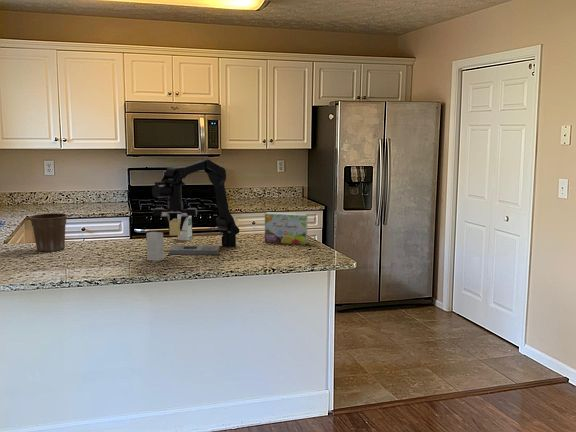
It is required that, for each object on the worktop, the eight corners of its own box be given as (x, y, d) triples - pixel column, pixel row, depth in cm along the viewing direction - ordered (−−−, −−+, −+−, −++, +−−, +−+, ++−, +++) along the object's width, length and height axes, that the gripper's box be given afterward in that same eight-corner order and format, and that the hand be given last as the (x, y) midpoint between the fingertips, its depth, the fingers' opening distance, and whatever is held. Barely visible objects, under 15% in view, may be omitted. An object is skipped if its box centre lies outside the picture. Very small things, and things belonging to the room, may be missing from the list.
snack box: (264, 242, 288) (264, 213, 286) (267, 240, 293) (267, 211, 291) (305, 244, 283) (305, 214, 281) (307, 242, 289) (307, 213, 286)
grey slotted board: (219, 249, 270) (219, 245, 269) (217, 254, 259) (217, 250, 259) (173, 249, 269) (172, 245, 269) (169, 254, 258) (168, 250, 258)
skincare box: (164, 259, 249) (163, 232, 247) (159, 261, 245) (158, 234, 243) (152, 258, 251) (151, 231, 249) (146, 260, 247) (146, 233, 245)
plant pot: (38, 254, 255) (36, 219, 253) (26, 249, 267) (24, 215, 265) (74, 250, 266) (72, 216, 263) (61, 244, 278) (60, 212, 275)
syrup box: (188, 240, 291) (187, 212, 289) (177, 240, 292) (177, 212, 290) (192, 238, 296) (192, 211, 294) (181, 238, 298) (181, 210, 295)
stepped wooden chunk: (181, 233, 255) (181, 218, 254) (179, 235, 250) (179, 220, 249) (171, 233, 254) (171, 218, 253) (169, 235, 250) (169, 220, 249)
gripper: (198, 194, 258) (198, 228, 260) (157, 193, 257) (157, 227, 260) (195, 197, 247) (195, 232, 249) (152, 196, 246) (153, 232, 249)
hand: (175, 231), depth 252 cm, fingers closed on stepped wooden chunk, 4 cm apart
